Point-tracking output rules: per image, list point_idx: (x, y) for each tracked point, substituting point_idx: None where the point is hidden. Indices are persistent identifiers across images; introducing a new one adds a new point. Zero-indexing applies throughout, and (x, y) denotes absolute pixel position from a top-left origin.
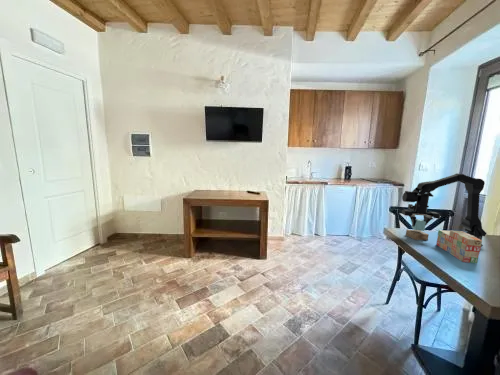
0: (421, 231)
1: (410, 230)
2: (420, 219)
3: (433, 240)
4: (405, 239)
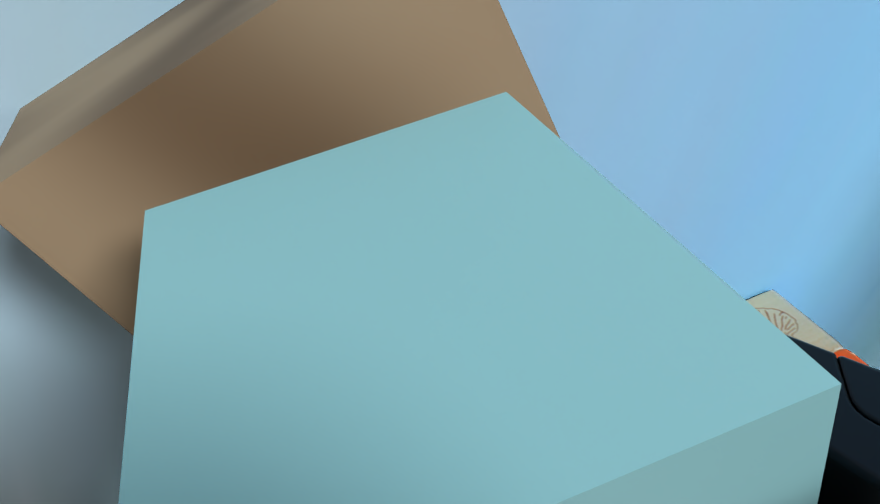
0: (503, 77)
1: (133, 229)
2: (709, 487)
3: (658, 127)
4: (75, 482)
